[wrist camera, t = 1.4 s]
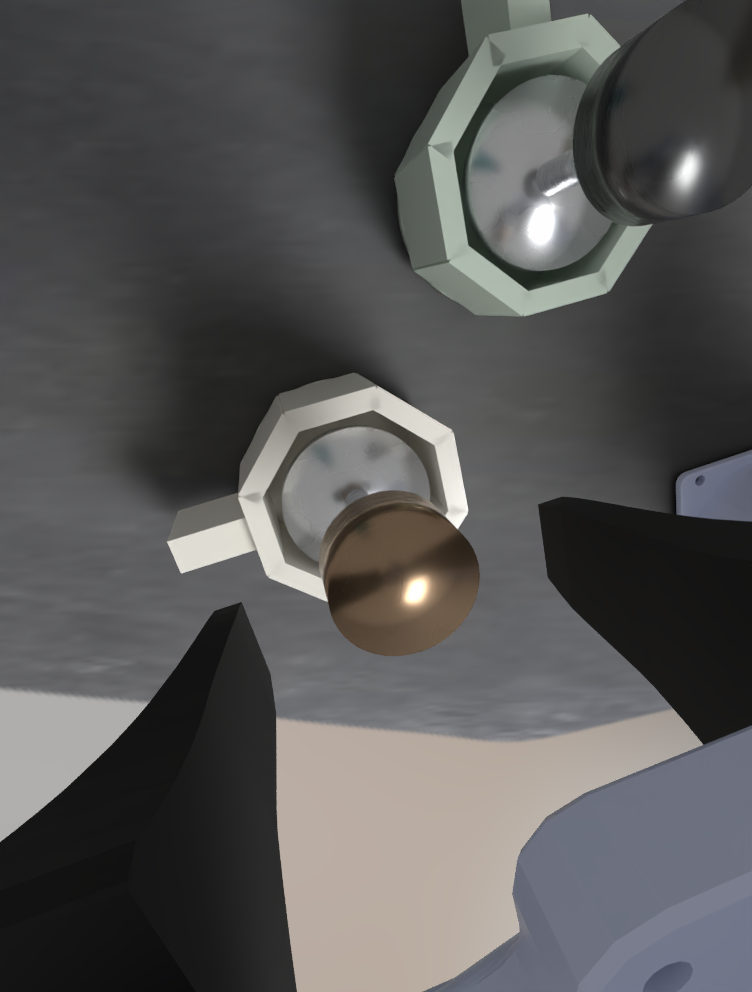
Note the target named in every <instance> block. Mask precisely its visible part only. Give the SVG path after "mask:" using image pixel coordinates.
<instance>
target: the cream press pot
mask: <svg viewBox="0 0 752 992" xmlns="http://www.w3.org/2000/svg"><path fill="white" fill-rule="evenodd" d="M346 425H368V426H374V427H378V428H381V429H384V430H386V431H388V432H390V433H392V434H394V435H395V436H397V437H398V438H400V439H401V440H402V441H403V442H404V443H406V444H407V445H408V446H409V447H410V448H411V449H412V450H413V451H414V452H415V453H416V455H417V456H418V457H419V459H420V460H421V462H422V464H423V466H424V468H425V470H426V473H427V476H428V480H429V486H430V502H431V503H433V504H434V505H435V506H436V507H437V508H438V509H439V510H440V511H441V512H442V513H443V514H444V515H445V516H446V518H447V519H448V520H449V521H450V522H451V523H452V524H453V525H454V526H455V527H456V528H457V529H458V528H459V526H460V525H461V523H462V521H463V520H464V518H465V517H466V515H467V514H468V512H467V511H468V506H467V501H466V496H465V491H464V485H463V480H462V475H461V470H460V464H459V459H458V454H457V449H456V443H455V438H454V433H453V432H452V430H451V429H449V428H448V427H446V426H444V425H443V424H441V423H439V422H438V421H436V420H434V419H433V418H431V417H429V416H428V415H426V414H425V413H423V412H421V411H420V410H418V409H416V408H415V407H413V406H411V405H410V404H408V403H406V402H405V401H403V400H401V399H399V398H398V397H396V396H394V395H393V394H391V393H389V392H388V391H386V390H384V389H383V388H381V387H379V386H378V385H376V384H374V383H373V382H371V381H369V380H368V379H366V378H364V377H363V376H361V375H359V374H357V373H350V374H347V375H343V376H340V377H336V378H331V379H324V380H319V381H315V382H312V383H309V384H306V385H303V386H301V387H299V388H297V389H294V390H290V391H287V392H283V393H280V394H279V396H277V395H276V397H275V399H274V401H273V403H272V405H271V407H270V409H269V410H268V412H267V414H266V415H265V417H264V418H263V420H262V422H261V423H260V425H259V426H258V428H257V431H256V433H255V435H254V437H253V440H252V442H251V444H250V446H249V448H248V450H247V452H246V453H245V455H244V457H243V459H242V461H241V463H240V475H239V488H238V493H235V494H232V495H229V496H225V497H222V498H219V499H215V500H212V501H209V502H205V503H202V504H199V505H196V506H192V507H189V508H186V509H182V510H179V511H178V513H177V516H176V519H175V521H174V524H173V527H172V530H171V532H170V535H169V538H168V541H167V543H168V545H169V547H170V549H171V552H172V554H173V556H174V558H175V561H176V563H177V565H178V567H179V570H180V572H181V573H184V572H188V571H191V570H194V569H197V568H200V567H203V566H206V565H210V564H213V563H216V562H219V561H222V560H225V559H229V558H232V557H235V556H238V555H241V554H244V553H247V552H251V551H254V550H258V553H259V556H260V559H261V561H262V564H263V567H264V569H265V572H266V575H267V576H268V578H271V579H273V580H276V581H278V582H280V583H283V584H285V585H288V586H290V587H293V588H295V589H298V590H300V591H303V592H305V593H307V594H310V595H312V596H315V597H317V598H320V599H322V600H325V601H327V602H328V600H327V597H326V593H325V589H324V585H323V581H322V577H321V573H320V569H319V562H317V561H315V560H313V559H312V558H310V557H309V556H307V555H306V554H305V553H304V552H303V551H302V550H301V549H300V548H299V547H298V546H297V545H296V543H295V542H294V541H293V539H292V537H291V536H290V534H289V532H288V530H287V527H286V525H285V521H284V517H283V511H282V503H281V493H282V486H283V481H284V478H285V475H286V472H287V470H288V468H289V465H290V464H291V462H292V460H293V459H294V457H295V456H296V455H297V453H298V452H299V451H300V450H301V449H302V448H303V447H304V446H305V445H306V444H307V443H308V442H309V441H311V440H312V439H314V438H315V437H317V436H318V435H320V434H322V433H324V432H326V431H328V430H331V429H334V428H337V427H341V426H346Z"/></svg>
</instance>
